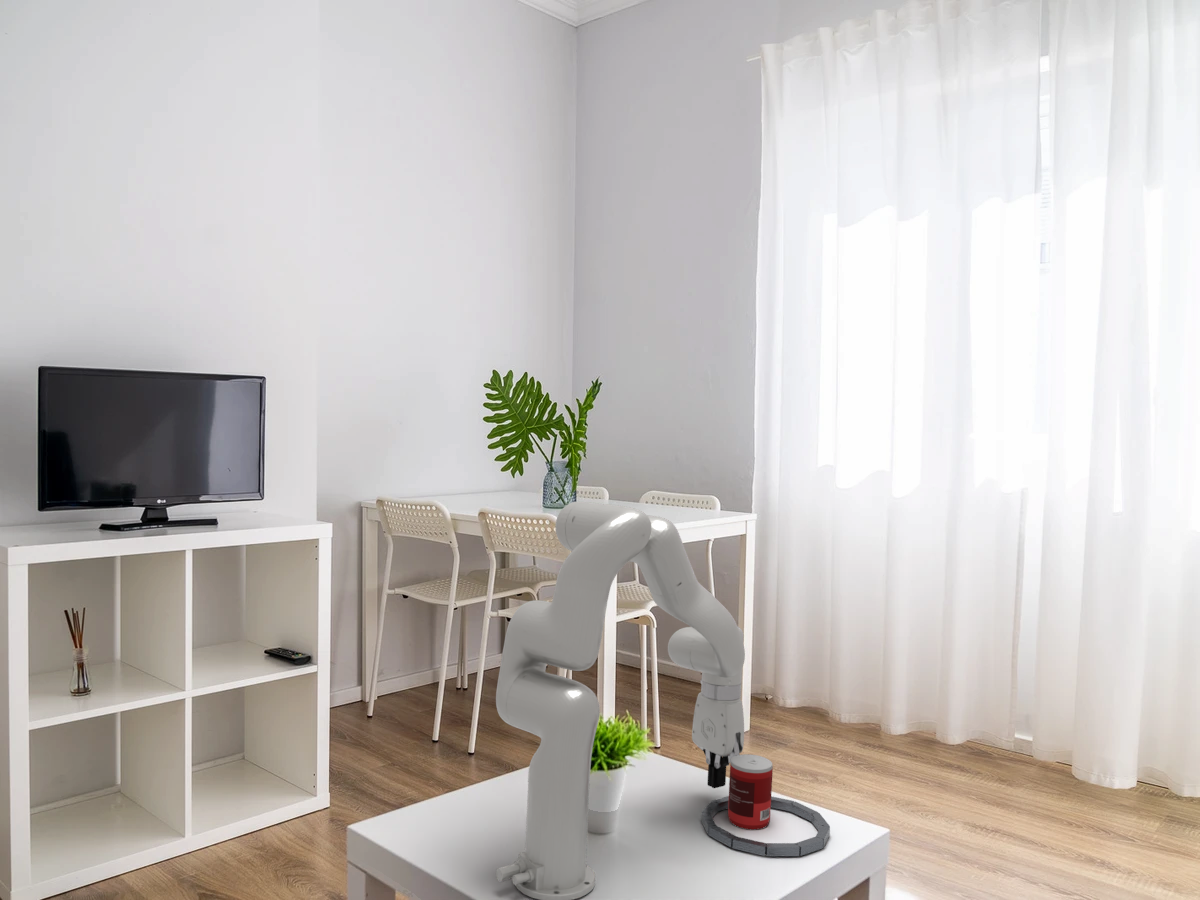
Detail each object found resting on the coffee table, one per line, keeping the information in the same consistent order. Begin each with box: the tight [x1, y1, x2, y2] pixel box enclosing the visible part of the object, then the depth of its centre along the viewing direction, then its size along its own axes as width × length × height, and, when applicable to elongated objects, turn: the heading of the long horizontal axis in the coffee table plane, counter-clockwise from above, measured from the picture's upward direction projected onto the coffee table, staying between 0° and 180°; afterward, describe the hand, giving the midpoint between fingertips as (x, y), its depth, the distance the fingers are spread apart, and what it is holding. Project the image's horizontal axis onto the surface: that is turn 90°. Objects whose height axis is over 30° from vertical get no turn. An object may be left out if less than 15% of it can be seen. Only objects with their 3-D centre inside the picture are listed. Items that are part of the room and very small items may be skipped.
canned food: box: [727, 753, 774, 830], centre depth 169 cm, size 8×8×11 cm
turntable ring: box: [700, 795, 831, 857], centre depth 166 cm, size 22×22×3 cm
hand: (716, 785), depth 176 cm, fingers closed
